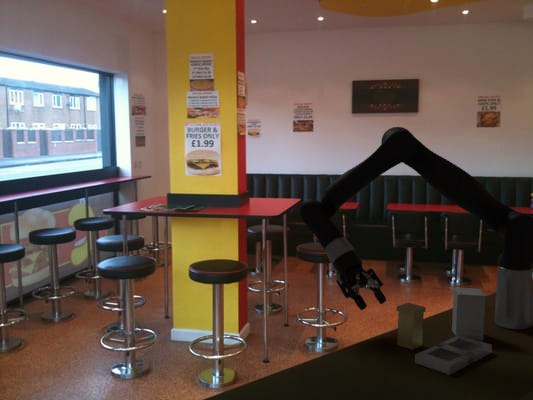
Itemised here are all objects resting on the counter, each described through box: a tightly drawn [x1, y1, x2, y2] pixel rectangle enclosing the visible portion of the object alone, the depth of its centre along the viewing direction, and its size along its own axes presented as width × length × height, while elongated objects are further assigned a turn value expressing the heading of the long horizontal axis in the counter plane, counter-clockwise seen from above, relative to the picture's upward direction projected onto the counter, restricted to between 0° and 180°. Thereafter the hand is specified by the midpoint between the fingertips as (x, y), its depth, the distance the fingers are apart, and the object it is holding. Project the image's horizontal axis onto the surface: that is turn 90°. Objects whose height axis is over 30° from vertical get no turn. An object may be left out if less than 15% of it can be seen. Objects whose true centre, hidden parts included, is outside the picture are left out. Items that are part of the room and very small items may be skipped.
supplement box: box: [451, 287, 486, 342], centre depth 150 cm, size 7×7×13 cm
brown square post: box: [396, 302, 427, 351], centre depth 141 cm, size 5×5×11 cm
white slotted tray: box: [414, 335, 493, 376], centre depth 133 cm, size 20×9×3 cm, turn 131°
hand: (374, 305), depth 149 cm, fingers open, 8 cm apart
